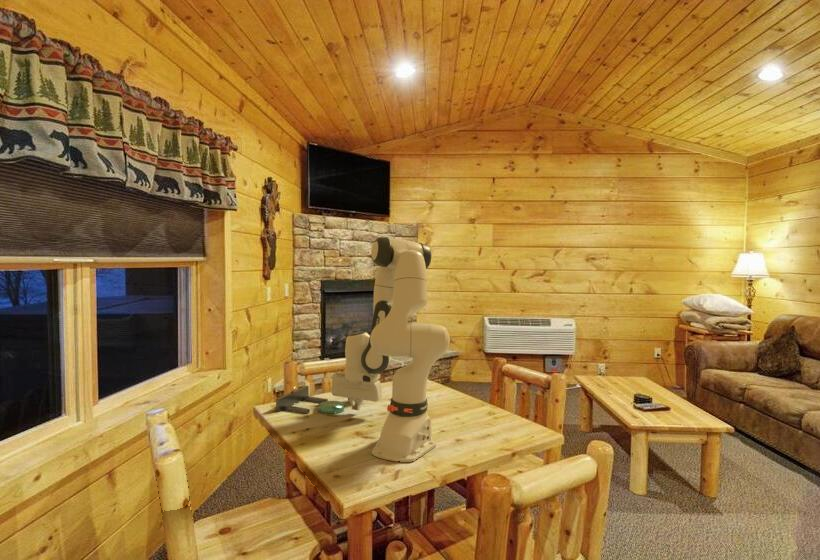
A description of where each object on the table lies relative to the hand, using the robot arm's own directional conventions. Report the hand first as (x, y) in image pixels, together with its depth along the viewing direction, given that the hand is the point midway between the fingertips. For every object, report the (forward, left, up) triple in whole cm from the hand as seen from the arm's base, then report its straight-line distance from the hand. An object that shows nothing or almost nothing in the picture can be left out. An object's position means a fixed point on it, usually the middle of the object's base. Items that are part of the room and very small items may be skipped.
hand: (355, 409), depth 174 cm
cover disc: (0, +11, -2) cm, 11 cm away
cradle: (0, +23, -2) cm, 23 cm away
